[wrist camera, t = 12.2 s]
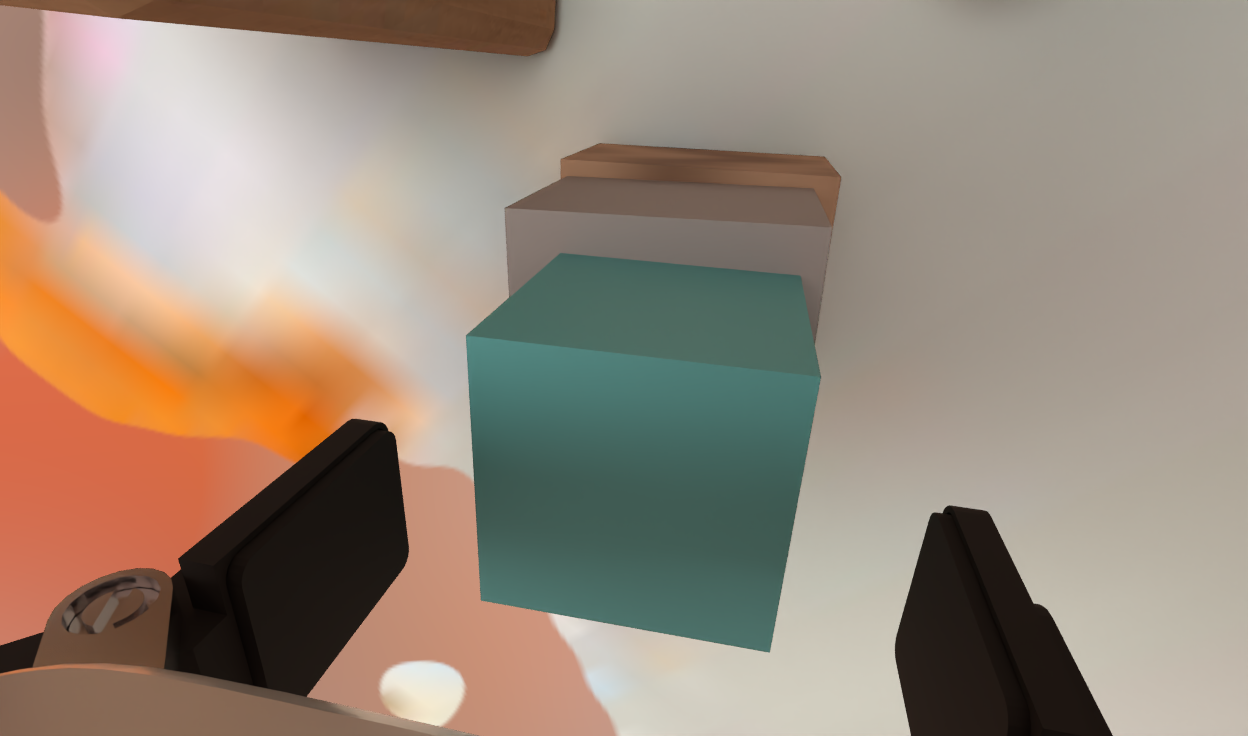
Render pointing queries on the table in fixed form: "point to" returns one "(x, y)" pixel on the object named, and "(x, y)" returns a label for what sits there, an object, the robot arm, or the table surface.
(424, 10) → the wooden block
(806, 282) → the tower mid
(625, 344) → the teal cube
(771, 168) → the tower base
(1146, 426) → the table surface
